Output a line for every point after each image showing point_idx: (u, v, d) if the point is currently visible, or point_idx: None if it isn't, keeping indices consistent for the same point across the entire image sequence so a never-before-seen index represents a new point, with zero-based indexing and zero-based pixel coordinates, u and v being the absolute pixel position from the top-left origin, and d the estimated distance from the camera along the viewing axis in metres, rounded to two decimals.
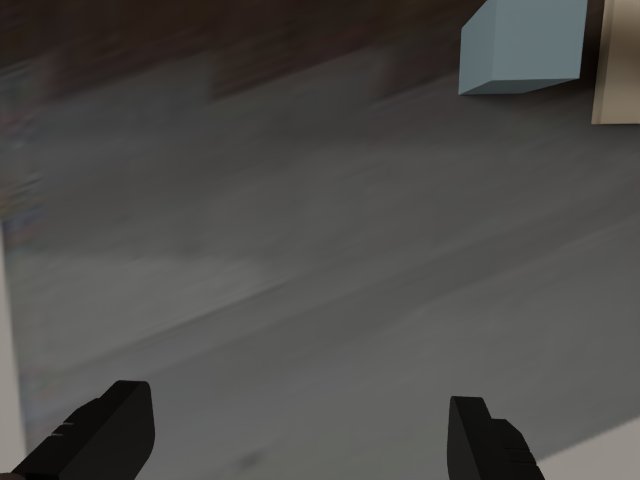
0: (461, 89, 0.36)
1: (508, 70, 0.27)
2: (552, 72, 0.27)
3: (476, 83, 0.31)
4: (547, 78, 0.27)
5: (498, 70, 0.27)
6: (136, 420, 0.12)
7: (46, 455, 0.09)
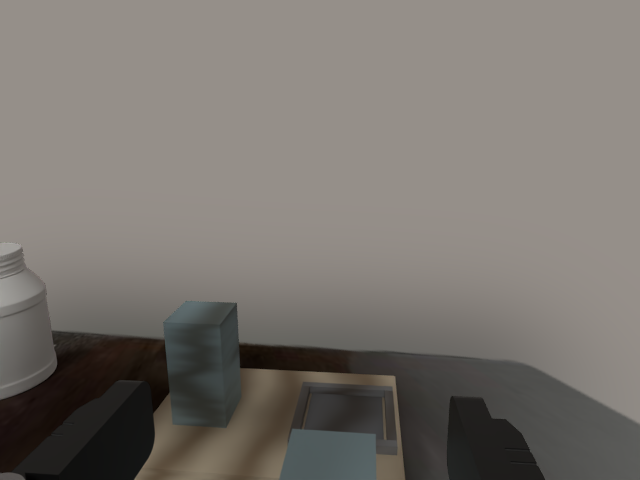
0: None
1: None
2: (369, 451, 0.26)
3: None
4: (375, 455, 0.25)
5: None
6: (136, 420, 0.12)
7: (46, 455, 0.09)
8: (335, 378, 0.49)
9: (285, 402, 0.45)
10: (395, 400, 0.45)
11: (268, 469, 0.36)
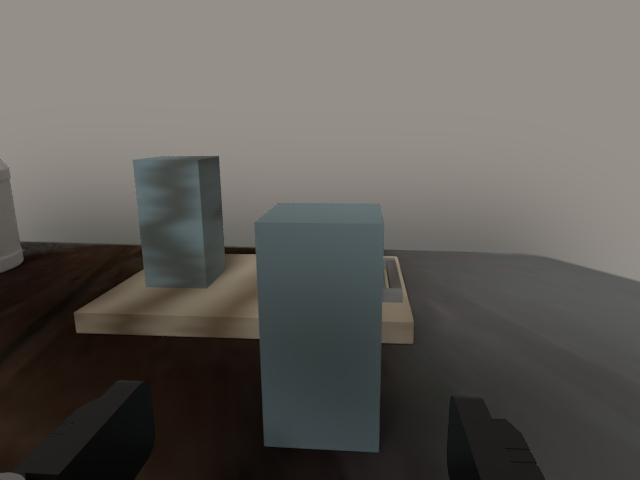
0: (372, 430, 0.19)
1: (369, 219, 0.18)
2: (372, 208, 0.21)
3: (376, 318, 0.18)
4: None
5: (369, 221, 0.18)
6: (136, 420, 0.12)
7: (46, 455, 0.09)
8: None
9: None
10: (398, 270, 0.40)
11: (253, 312, 0.31)
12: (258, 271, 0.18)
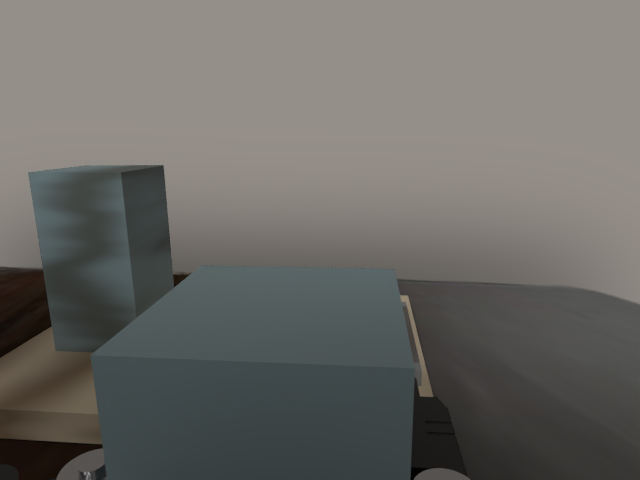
0: None
1: (376, 339, 0.08)
2: (382, 289, 0.10)
3: None
4: None
5: (376, 354, 0.07)
6: None
7: None
8: None
9: None
10: (411, 320, 0.30)
11: None
12: (109, 465, 0.08)
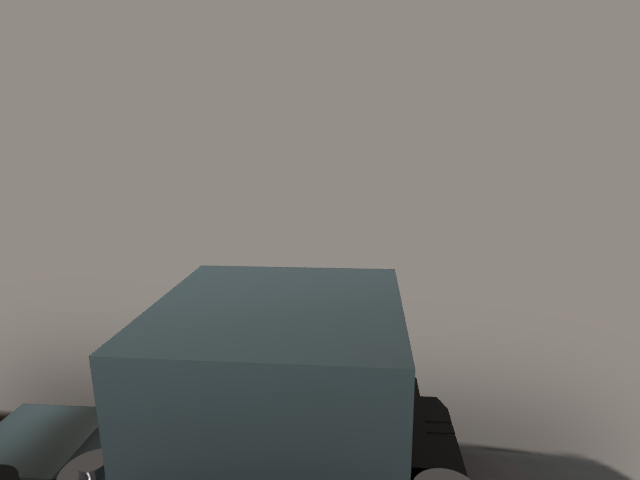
0: None
1: (376, 339, 0.08)
2: (382, 289, 0.10)
3: None
4: None
5: (376, 355, 0.07)
6: None
7: None
8: None
9: None
10: None
11: None
12: (108, 466, 0.08)
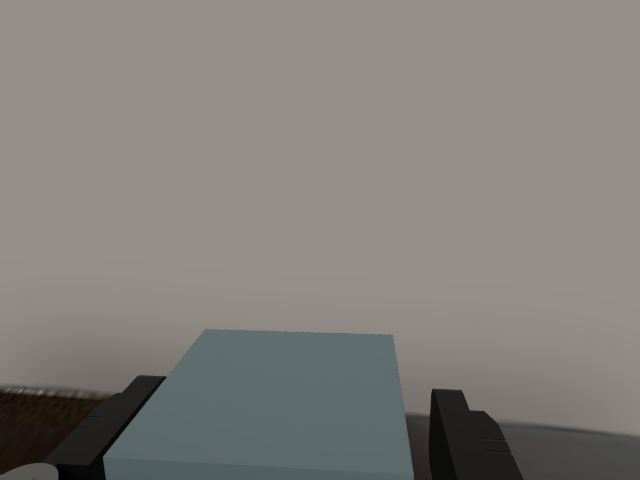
0: None
1: (376, 434, 0.08)
2: (381, 363, 0.10)
3: None
4: None
5: (376, 456, 0.07)
6: None
7: (75, 447, 0.09)
8: None
9: None
10: None
11: None
12: None
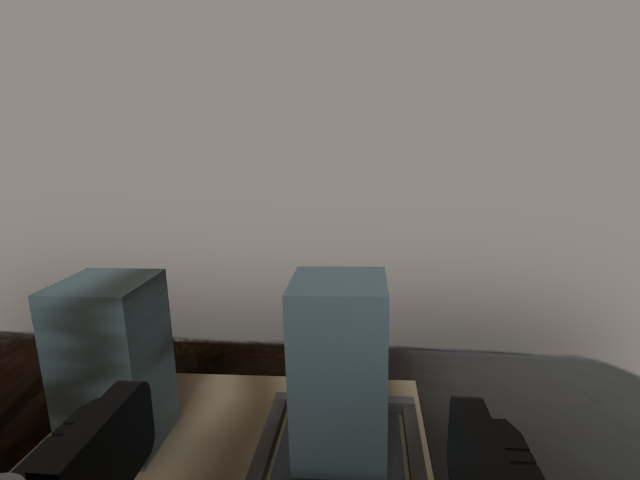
0: (381, 464, 0.23)
1: (376, 290, 0.22)
2: (378, 274, 0.25)
3: (383, 373, 0.22)
4: None
5: (376, 294, 0.22)
6: (136, 420, 0.12)
7: (46, 455, 0.09)
8: None
9: (247, 425, 0.29)
10: (419, 418, 0.29)
11: None
12: (285, 335, 0.22)
